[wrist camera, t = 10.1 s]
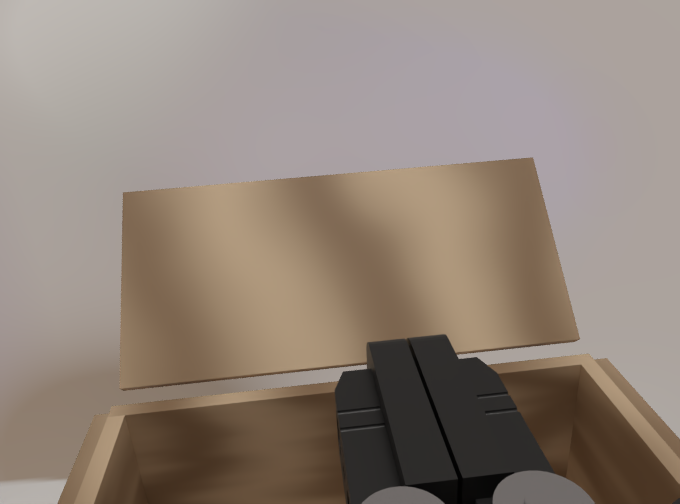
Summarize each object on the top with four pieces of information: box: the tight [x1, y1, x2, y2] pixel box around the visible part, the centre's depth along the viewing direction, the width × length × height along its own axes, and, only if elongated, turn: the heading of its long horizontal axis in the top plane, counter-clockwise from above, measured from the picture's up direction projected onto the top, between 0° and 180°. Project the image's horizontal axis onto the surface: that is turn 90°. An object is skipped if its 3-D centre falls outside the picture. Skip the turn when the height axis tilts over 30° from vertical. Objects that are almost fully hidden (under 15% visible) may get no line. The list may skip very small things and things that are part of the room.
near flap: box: [120, 158, 580, 391], centre depth 23 cm, size 17×8×1 cm
